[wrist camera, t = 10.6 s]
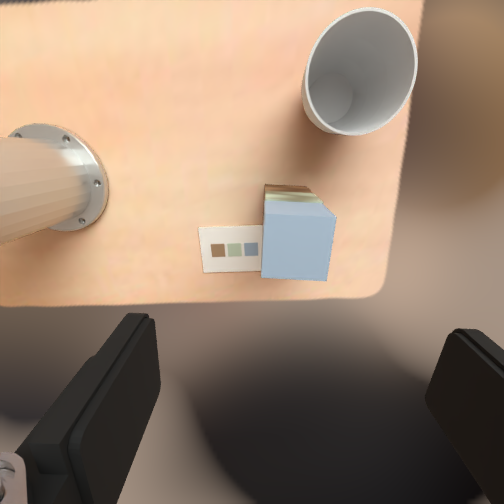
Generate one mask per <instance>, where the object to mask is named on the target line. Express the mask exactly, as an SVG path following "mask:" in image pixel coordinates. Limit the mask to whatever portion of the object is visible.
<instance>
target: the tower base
mask: <svg viewBox="0 0 504 504" xmlns="http://www.w3.org/2000/svg"><path fill="white" fill-rule="evenodd" d="M265 201H284V202H305V203H322V204H323V201H321V200H320V199H319V198H318V197H317V196H316V195H315V194H314V193H313V192H312V191H311V190H310V189H308V188H307V187H305V186H286V185H267V184H265V193H264V202H265ZM263 219H264V209H263ZM262 236H263V234H262Z"/></svg>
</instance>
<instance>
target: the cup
mask: <svg viewBox="0 0 504 504" xmlns="http://www.w3.org/2000/svg"><path fill="white" fill-rule="evenodd" d="M417 64H418V59H417V50H416V45H415V42H414V39H413V36H412V34H411V32H410V31H409V29H408V27H407V26H406V25H405V23H404V22H403V21H402V20H401V19H400V18H398V17H397V16H396V15H394V14H393V13H391V12H389V11H387V10H384V9H380V8H374V7H365V8H359V9H355V10H352V11H349V12H347V13H345V14H343V15H342V16H340V17H338V18H337V19H336V20H334V21H333V22H332V23H331V24H330V25H329V26H328V27H327V28H326V29H325V30H324V31H323V32H322V34H321V35H320V36H319V38H318V39H317V41H316V43H315V45H314V46H313V49H312V51H311V53H310V56H309V59H308V62H307V66H306V69H305V72H304V75H303V80H302V87H301V95H302V102H303V106H304V110H305V112H306V114H307V116H308V118H309V119H310V120H311V121H312V123H314V124H315V125H316V126H317V127H318V128H320V129H321V130H323V131H325V132H328V133H331V134H338V135H363V134H367V133H370V132H373V131H375V130H377V129H379V128H381V127H383V126H384V125H386V124H387V123H388V122H389V121H391V120H392V119H393V118H394V117H395V116H396V115H397V114H398V113H399V111H400V110H401V109H402V108H403V106H404V105H405V103H406V101H407V100H408V98H409V96H410V94H411V92H412V89H413V86H414V83H415V79H416V74H417Z"/></svg>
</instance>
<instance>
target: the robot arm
mask: <svg viewBox="0 0 504 504" xmlns="http://www.w3.org/2000/svg"><path fill="white" fill-rule="evenodd" d="M100 183H101V184H100ZM107 200H108V182H107V177H106V174H105V170H104V168H103V166H102V164H101V162H100V160H99V158H98V157H97V155H96V154H95V152H94V151H93V150H92V149H91V148H90V147H89V145H88V144H87V143H86V142H85V141H83V140H82V139H81V138H80V137H78V136H77V135H76V134H74V133H72V132H70V131H68V130H67V129H64V128H61V127H58V126H56V125H49V124H35V123H34V124H29V125H24V126H22V127H20V128H18V129H16V130H14V131H13V132H12V133H11V134H10V135H9V136H8V137H0V245H3V244H6V243H8V242H11V241H13V240H16V239H19V238H21V237H24V236H27V235H29V234H32V233H35V232H37V231H40V230H43V229H45V228H49V229H52V230H57V231H75V230H79V229H82V228H84V227H86V226H89V225H90V224H92V223H93V222H95V221H96V220H97V219H98V218H99V217H100V216H101V214H102V212H103V211H104V209H105V206H106V203H107ZM160 385H161V381H160V370H159V360H158V350H157V340H156V330H155V321H154V319H151V318H149V315H148V314H145V313H128V314H127V315H126V316H125V317H124V318H123V320H122V321H121V322H120V324H119V325H118V326H117V328H116V329H115V330H114V331H113V333H112V334H111V335H110V337H109V338H108V339H107V341H106V342H105V343H104V345H103V346H102V347H101V348H100V350H99V351H98V352H97V354H96V355H95V356H92V357H90V358H89V359H88V360H87V361H86V362H85V364H84V365H83V366H82V368H81V369H80V370H79V371H78V373H77V374H76V375H75V376H74V378H73V379H72V380H71V382H70V383H69V384H68V385H67V387H66V388H65V389H64V390H63V392H62V393H61V394H60V396H59V397H58V398H57V399H56V401H55V402H54V403H53V405H52V406H51V407H50V408H49V410H48V411H47V412H46V413H45V415H44V416H43V417H42V418H41V420H40V421H39V422H38V424H37V425H36V426H35V427H34V429H33V430H32V431H31V432H30V434H29V435H28V437H27V438H26V439H25V440H24V442H23V443H22V444H21V445H20V447H19V448H18V449H17V451H16V452H15V453H10V452H1V453H0V504H117V501H118V499H119V496H120V493H121V491H122V488H123V486H124V483H125V481H126V478H127V475H128V473H129V470H130V468H131V465H132V462H133V460H134V457H135V455H136V452H137V450H138V447H139V444H140V442H141V439H142V437H143V434H144V431H145V429H146V426H147V424H148V421H149V419H150V416H151V413H152V411H153V408H154V406H155V403H156V401H157V398H158V395H159V392H160ZM425 401H426V404H427V407H428V409H429V410H430V412H431V413H432V415H433V416H434V418H435V419H436V421H437V422H438V424H439V425H440V427H441V428H442V430H443V431H444V433H445V434H446V436H447V437H448V439H449V441H450V442H451V444H452V445H453V446H454V448H455V450H456V451H457V453H458V454H459V455H460V457H461V459H462V460H463V462H464V463H465V465H466V466H467V468H468V469H469V471H470V472H471V474H472V475H473V477H474V478H475V480H476V482H477V483H478V485H479V486H480V488H481V489H482V490H483V492H484V494H485V495H486V497H487V498H488V500H489V501H490V503H491V504H504V350H503V349H502V348H501V347H500V346H498V345H497V344H496V343H495V342H493V341H492V340H491V339H490V338H489V337H487V336H486V335H485V334H484V333H483V332H481V331H479V330H476V329H460V328H458V329H455V330H454V331H453V332H452V333H450V334H449V335H448V337H447V339H446V341H445V344H444V347H443V350H442V352H441V355H440V357H439V360H438V363H437V365H436V368H435V370H434V373H433V376H432V378H431V381H430V384H429V386H428V389H427V392H426V395H425Z"/></svg>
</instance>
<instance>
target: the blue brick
mask: <svg viewBox="0 0 504 504" xmlns="http://www.w3.org/2000/svg"><path fill="white" fill-rule="evenodd" d="M336 218H337V217H336V216H335V215H334V214H333V213H332V212H331V211H330V210H328V209H327V208H326V207H325V206H324V205H323V204H322V203H305V202H284V201H265V202H264V219H263V236H262V253H261V278H277V279H295V280H313V281H327V275H328V268H329V262H330V256H331V249H332V243H333V237H334V230H335V224H336Z"/></svg>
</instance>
